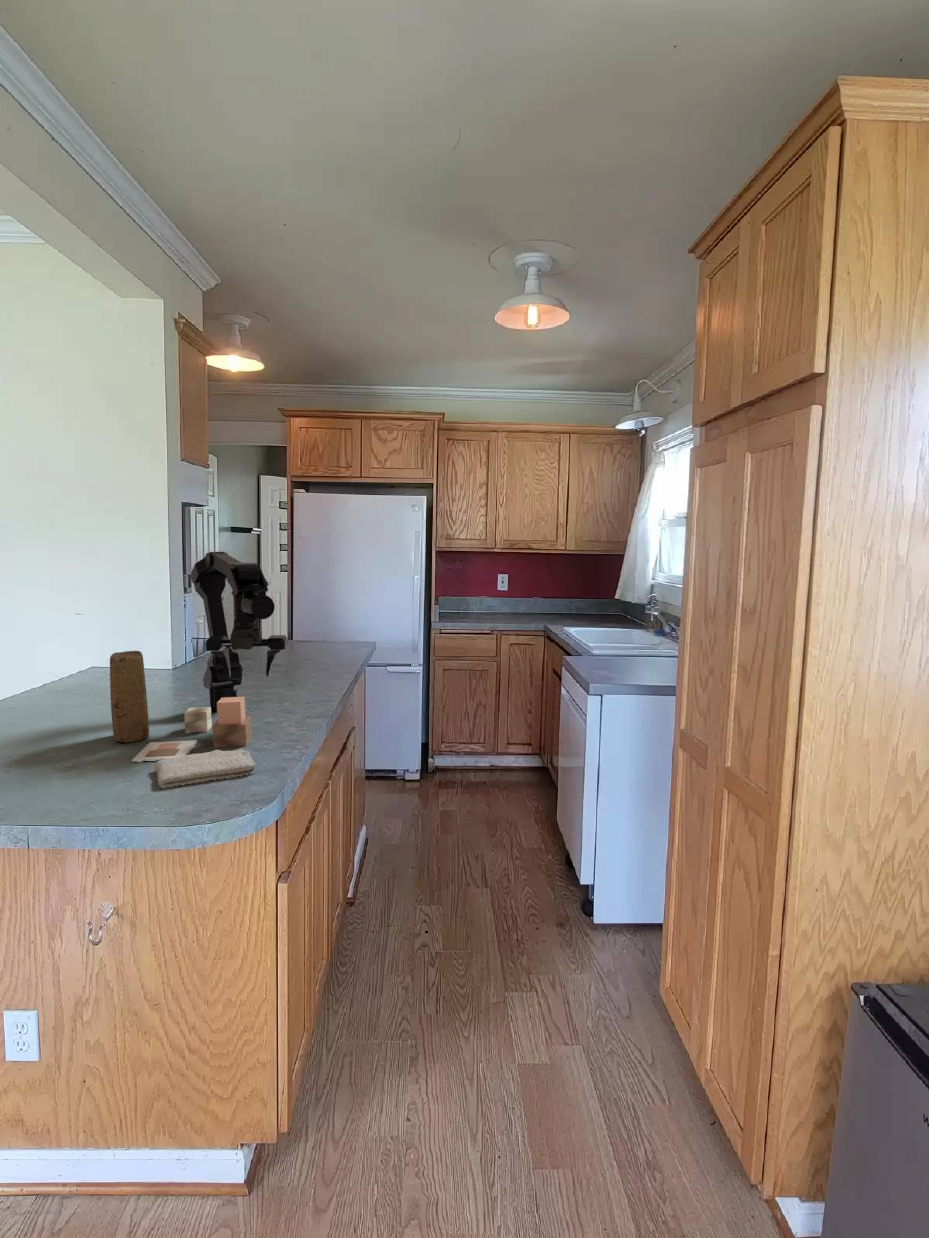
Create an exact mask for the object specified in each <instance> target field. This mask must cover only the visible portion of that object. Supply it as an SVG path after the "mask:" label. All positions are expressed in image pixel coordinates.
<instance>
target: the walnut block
mask: <svg viewBox="0 0 929 1238" xmlns="http://www.w3.org/2000/svg"><path fill="white" fill-rule="evenodd" d="M211 728H212V743H213V744H212V745H213V748H214V747H216V748H225V747H224V746H237V747H247V746H248V744H249V743H248V742H250V741H251V739H252V738H251V737H253V733H252V716H246V718H245V720H244V721H243V722H242V724H229V725H218V719H217V720H216V722H215V723H214V724H212V727H211ZM249 740H250V741H249Z"/></svg>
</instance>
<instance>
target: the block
mask: <svg viewBox="0 0 929 1238" xmlns="http://www.w3.org/2000/svg"><path fill="white" fill-rule="evenodd" d="M144 663H145V662H144V656H143V653H142V652H141V651H140V650H139V651H138V650H127V651H126V650H125V651H121V652H114V653H112V654H111V655H110V658H109V682H110V684H109V686H110V692H109V693H110V712H111V722H112V723H111V724H112V731H113V733H112V734H113V739H114V740H115V742H117V743H121V742H123V743H135V742H139V741H142V739H143V740H145V739H147V738H149V736H150V724H149V722H150V721H149V720H150V719H149V706H148V697H147V685H146V675H145V664H144ZM134 741H135V742H134Z"/></svg>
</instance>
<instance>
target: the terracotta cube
mask: <svg viewBox="0 0 929 1238" xmlns="http://www.w3.org/2000/svg"><path fill="white" fill-rule="evenodd" d="M245 699H246V697H245V696H238V697H224V698H221V699H220V700H219V701H218V702H217V711H216V714H217V720H218V725H229V724H242V722H243V721H244V720H245V718H246V717H247V716H246V700H245Z"/></svg>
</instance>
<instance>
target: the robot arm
mask: <svg viewBox="0 0 929 1238" xmlns="http://www.w3.org/2000/svg"><path fill="white" fill-rule="evenodd" d="M190 580H191V583H192V584H193V587H194V590H195V592H196V593H197V594H198V596H200V598H201V599H202V601H203V607H204V613H205V618H206V625H207V631H208V635H209V637H208V638H207V639H206V640H205V642H204V645H205V646H204V647H205V648H204V650H205V651H206V652H209V651H210V655H209V657H208V658H207V662H206V664H207V667H206V670H205V672H204V674H203V675H204V676H203V678H202V682H203V687H204V688H205V689H208V691H209V707H211V712H217V702H218V701H219V700H220V699H221V698H224V697H239V690H238V689H236V688H237V687H236V686H241V685H242V682H243V681H242V680H243V669H244V668H243V667H242V664H241V663H240V662H241V661H240V655H239V653H238V652H237V650H246V651H248V650H251V649H253V647H267V648H269V649H267V652H266V655H267V657H266V668H265V669H266V670H265V675H266V678H268V677H270V674H271V670H272V667H273V663H274V660H275V658H276V655H277V654H280V653H281V652H282V651H283V650H286V648H287V647H288V637H287V636H286V635H285V634H278V635H277V634H271V635H270V636H268V638H263V636H262V629H261V628H260V623H259V620H266V619H269V618H270V617H271V616H272V615H273V614H274V611H275V602H274V601H273V599H272V598H271V597H270V596H268V595H267V592H268V591H269V589H268V585H269V583H268V582H267V581H268V580H267V579H266V577H265V575H264V573H263V570H262V569H261V567H260V565H259V564H258V563H257V562H242V561H240V560H238V559H236V558H234V557H232V556H231V555H229V554H228V553H227V552H225V551H209V552H206V554H205V555H204V557H203V558H201V559H200V560H199V561H197V562H195V563H194V564H193V567H192V569H191V572H190ZM226 581H227V583H228V584H229V587H231V590H232V591H231V595H232V596H233V597H232V599H233V602H232V603H233V626H232V631H231V633H230V636H229V634H228V628H227V622H226V615H225V610H224V604H223V600H222V594H223V592H224V590H225V589H226Z"/></svg>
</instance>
